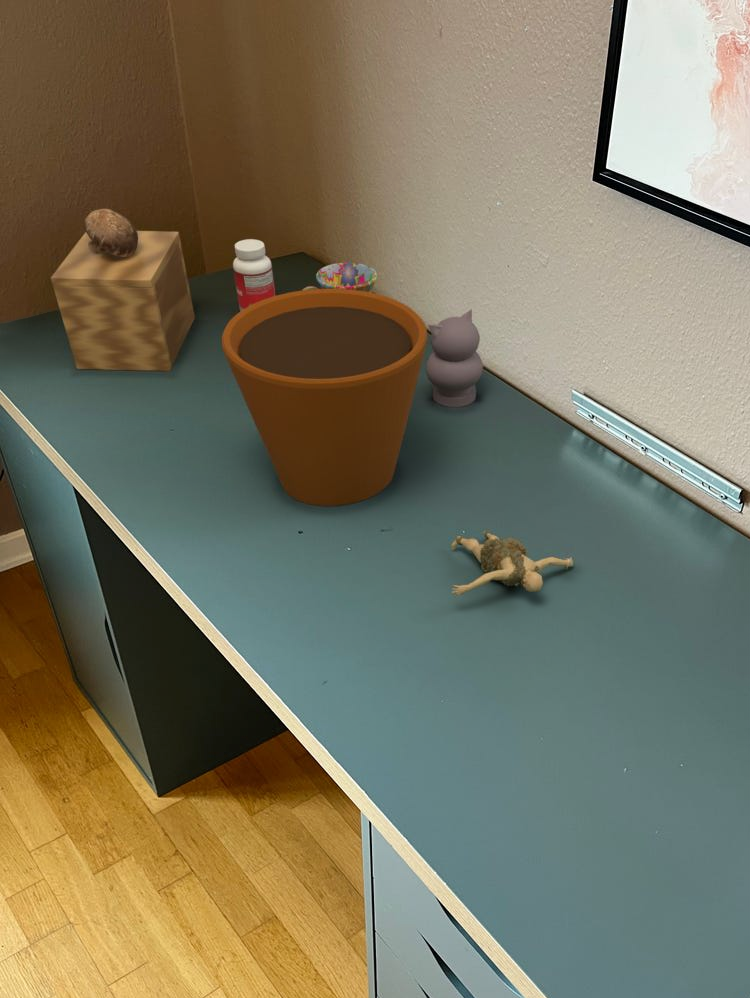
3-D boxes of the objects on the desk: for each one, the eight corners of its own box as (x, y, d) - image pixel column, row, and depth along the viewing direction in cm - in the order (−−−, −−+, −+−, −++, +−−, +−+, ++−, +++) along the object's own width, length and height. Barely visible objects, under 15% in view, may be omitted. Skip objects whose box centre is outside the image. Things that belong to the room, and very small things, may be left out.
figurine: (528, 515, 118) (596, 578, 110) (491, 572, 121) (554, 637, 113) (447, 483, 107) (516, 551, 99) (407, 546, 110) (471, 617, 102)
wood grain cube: (76, 369, 143) (50, 277, 134) (109, 316, 157) (87, 229, 147) (170, 371, 144) (150, 279, 134) (195, 318, 157) (178, 231, 147)
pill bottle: (242, 303, 161) (231, 237, 154) (278, 303, 162) (270, 237, 154) (238, 319, 157) (227, 252, 149) (275, 319, 157) (267, 252, 150)
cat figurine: (448, 416, 136) (448, 337, 128) (414, 395, 141) (413, 317, 132) (493, 398, 141) (496, 320, 132) (459, 377, 145) (460, 301, 136)
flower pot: (371, 410, 137) (363, 273, 123) (463, 490, 123) (466, 346, 109) (216, 459, 127) (188, 316, 113) (298, 553, 113) (278, 402, 99)
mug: (372, 323, 157) (369, 259, 150) (386, 349, 151) (383, 283, 143) (300, 332, 154) (293, 267, 147) (311, 358, 148) (304, 292, 140)
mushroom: (62, 232, 137) (80, 196, 134) (104, 236, 144) (123, 202, 141) (97, 272, 137) (116, 237, 134) (137, 275, 144) (156, 241, 140)
